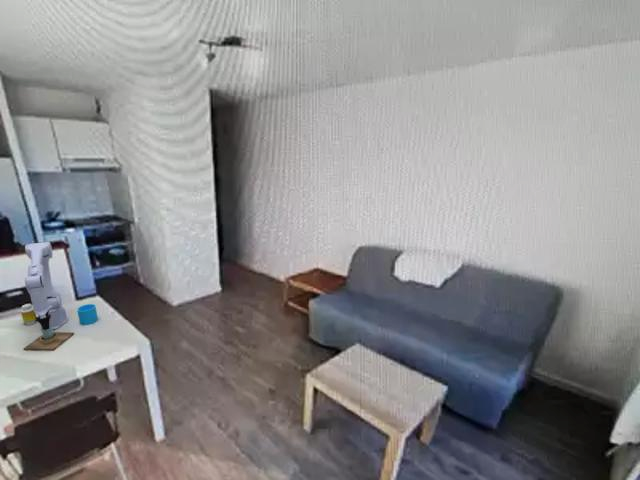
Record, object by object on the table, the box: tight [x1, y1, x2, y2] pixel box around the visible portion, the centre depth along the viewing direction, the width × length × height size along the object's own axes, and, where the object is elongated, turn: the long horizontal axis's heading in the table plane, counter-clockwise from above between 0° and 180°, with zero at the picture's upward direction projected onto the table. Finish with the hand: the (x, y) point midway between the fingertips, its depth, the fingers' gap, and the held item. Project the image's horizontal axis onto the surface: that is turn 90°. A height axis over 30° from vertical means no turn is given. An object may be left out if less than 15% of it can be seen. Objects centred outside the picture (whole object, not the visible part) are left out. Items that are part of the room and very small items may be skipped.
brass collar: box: [39, 333, 58, 344], centre depth 170 cm, size 7×7×2 cm
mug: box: [76, 303, 99, 326], centre depth 189 cm, size 12×8×8 cm
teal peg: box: [41, 325, 54, 340], centre depth 169 cm, size 4×4×7 cm
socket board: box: [23, 331, 75, 352], centre depth 170 cm, size 14×14×1 cm
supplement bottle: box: [20, 303, 38, 326], centre depth 185 cm, size 6×6×10 cm
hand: (46, 325), depth 168 cm, fingers open, 7 cm apart
